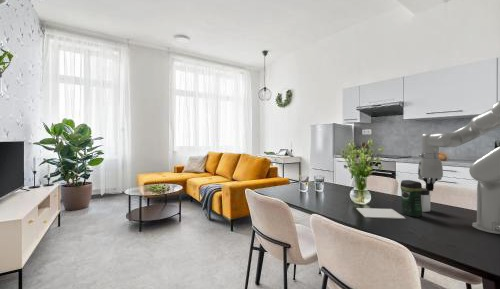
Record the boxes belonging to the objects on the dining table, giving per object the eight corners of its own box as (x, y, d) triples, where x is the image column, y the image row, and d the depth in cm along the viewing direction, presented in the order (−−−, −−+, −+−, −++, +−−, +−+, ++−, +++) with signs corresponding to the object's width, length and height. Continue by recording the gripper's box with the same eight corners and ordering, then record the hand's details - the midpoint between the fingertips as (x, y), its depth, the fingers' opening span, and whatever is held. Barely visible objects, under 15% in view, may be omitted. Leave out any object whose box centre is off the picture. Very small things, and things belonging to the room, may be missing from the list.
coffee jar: (425, 216, 125) (425, 181, 124) (412, 217, 123) (412, 182, 123) (409, 211, 134) (409, 178, 134) (397, 212, 133) (397, 179, 132)
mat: (405, 218, 122) (405, 217, 122) (365, 217, 125) (365, 216, 125) (391, 209, 138) (391, 208, 138) (356, 208, 141) (356, 207, 141)
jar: (432, 209, 136) (432, 189, 136) (428, 212, 131) (428, 191, 131) (414, 206, 143) (414, 187, 143) (409, 209, 138) (409, 188, 138)
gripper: (418, 157, 124) (418, 191, 125) (450, 157, 122) (449, 192, 122) (411, 155, 132) (410, 188, 132) (441, 156, 129) (440, 189, 130)
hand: (429, 190), depth 127 cm, fingers closed
